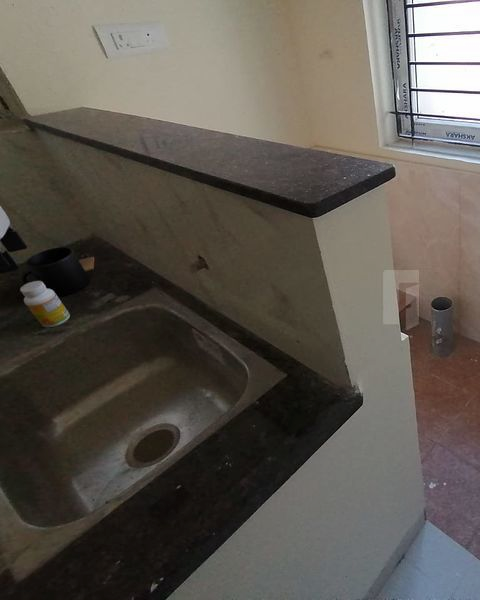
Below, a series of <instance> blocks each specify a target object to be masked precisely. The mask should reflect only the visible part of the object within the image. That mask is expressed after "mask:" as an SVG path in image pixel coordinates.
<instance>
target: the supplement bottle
mask: <svg viewBox="0 0 480 600" xmlns="http://www.w3.org/2000/svg"><path fill="white" fill-rule="evenodd" d="M29 282H30V281H29ZM19 290H20V292H21V294H22V295H23V296H24V298H23V302H24V304H25V305H26V307H27V308H28V310H29V311H30V312H31V313H32V314H33V316H34V318H35V319H36V320H37V321H38V322H39V324H40V325H41V326H42V327H43V328H54V327H58V326H60V325H62V324H64V323H65V322H67V321H68V320H69V318H71V316H70V315H71V314H70V312H69V311H68V309H67V308H66V307H65V305H64V303H63V302H62V301H61V299H60V298H59V297H57V295H56V294H55V292H54V291H53V290H51V289H48V288H46V286H45V285H44V283H43V282H42V281H37V280H34V281H31V282H30V283H28V284H24V285H22V286H21V287H20V289H19Z"/></svg>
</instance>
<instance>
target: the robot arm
mask: <svg viewBox="0 0 480 600" xmlns="http://www.w3.org/2000/svg"><path fill="white" fill-rule="evenodd" d="M4 248H5V250H4ZM26 249H28V245H27V244H26V242H25V241H24V240H23V238H22V237H21V236H20V234H19V232H18V231H17V230H16V227H14V225H13V224H11V221H10V218H9V216H8V215H7V213H6V211H5V210H4V209H3V207H2V206H1V205H0V275H1V274H5V273H6V274H7V273H10V272H14V271H18V270H19V269H20V266H19V264H18V263H17V262H16V260H15V259H14V258H13V257H12V255H11V254H10V253H14V252H18V251H22V250H26Z"/></svg>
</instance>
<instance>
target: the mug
mask: <svg viewBox="0 0 480 600" xmlns="http://www.w3.org/2000/svg"><path fill="white" fill-rule="evenodd" d="M79 260H80V259H78V256H77V255H76V254H75V252H74V250H73V249H72V248H70V247H66V246H61V247H60V246H59V247H53V248H48V249H45V250H41V251H40V252H38V253H35V254H34V255H32V256H30V257H29V258H28V259H27V260H26V261H25V266H26V267H27V268H28V270H27V271H24V272H23V274H21V281H22V283H23V284H24V285H25V284H28V283H30V281H28V280H27V277H28V276H29V275H33V277H34V278H35V280H36V281H42V282H43V283H44V285H45V286H46V288H48V289H51V290H53V291H54V292H55V294H56V295H57V297H58V298H59V297H60V298H61V297H66V296H70V295H73V294H75V293H78V292H80V291H82V290H83V289H84V288H86V287H87V286H88V285H89V284H90V283H91V278H90V276H89V275H88V272H87V271H85V270H84V268H83V266H82V265H81V263H80V262H79Z"/></svg>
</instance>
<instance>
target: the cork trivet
mask: <svg viewBox="0 0 480 600" xmlns="http://www.w3.org/2000/svg"><path fill="white" fill-rule="evenodd" d="M78 260H79V262H80V263H81V265H82V266H83V268H84V270H85V271H86V272H88V271H89V272H90V271H92V270H95V269H94V268H95V267H94V266H95V256H90V257H85V258H82V259H78Z"/></svg>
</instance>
